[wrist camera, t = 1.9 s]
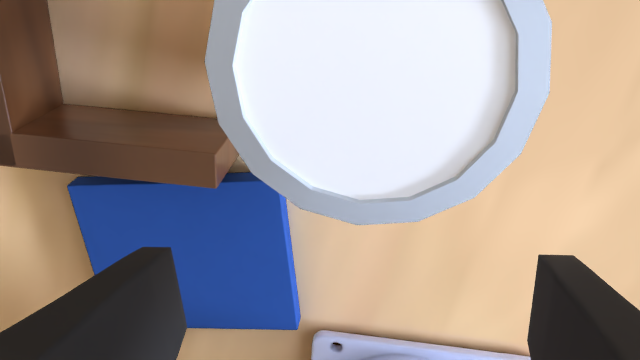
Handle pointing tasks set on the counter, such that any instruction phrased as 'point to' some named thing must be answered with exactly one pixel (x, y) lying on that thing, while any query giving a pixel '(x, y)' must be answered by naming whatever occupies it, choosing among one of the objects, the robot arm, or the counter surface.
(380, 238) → the counter surface
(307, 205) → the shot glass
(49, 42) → the corner guard
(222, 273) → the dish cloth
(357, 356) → the robot arm
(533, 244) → the counter surface
